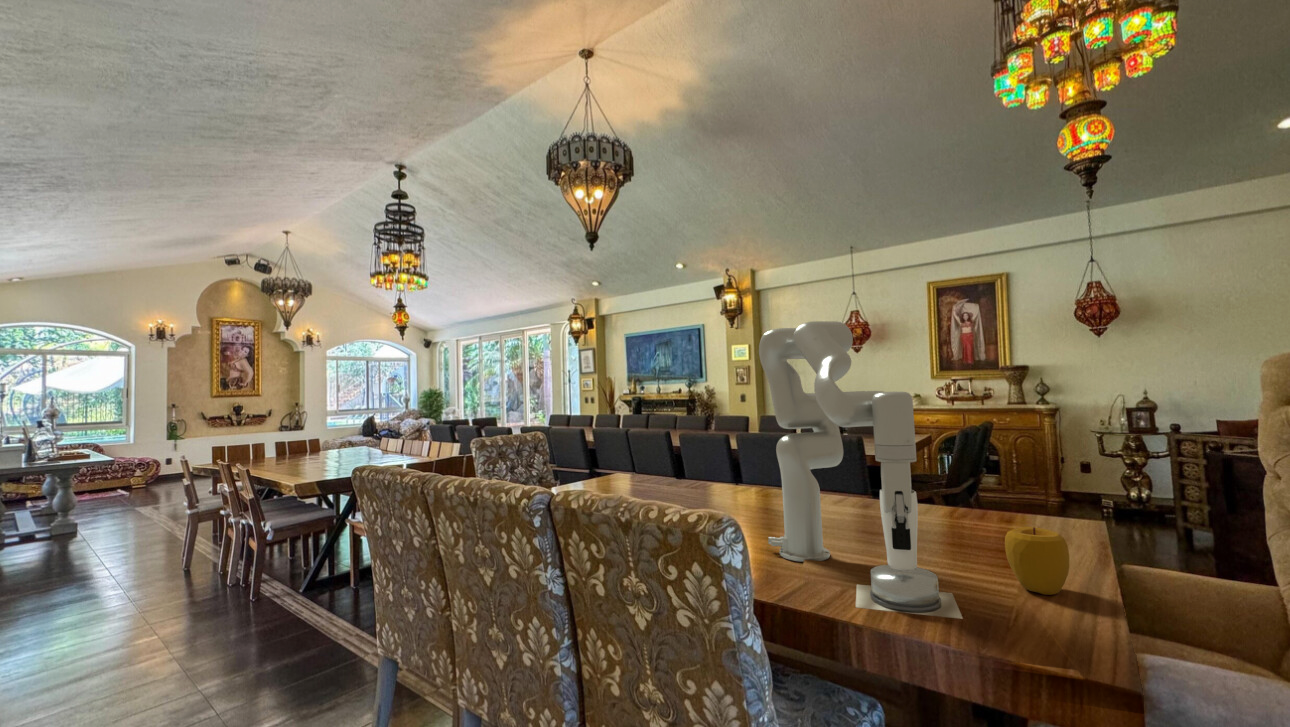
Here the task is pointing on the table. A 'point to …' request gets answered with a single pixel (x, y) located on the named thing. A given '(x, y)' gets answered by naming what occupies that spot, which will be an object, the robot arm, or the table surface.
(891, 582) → the grey short round cylinder
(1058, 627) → the table surface
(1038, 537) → the apple
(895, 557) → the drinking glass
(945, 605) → the board
